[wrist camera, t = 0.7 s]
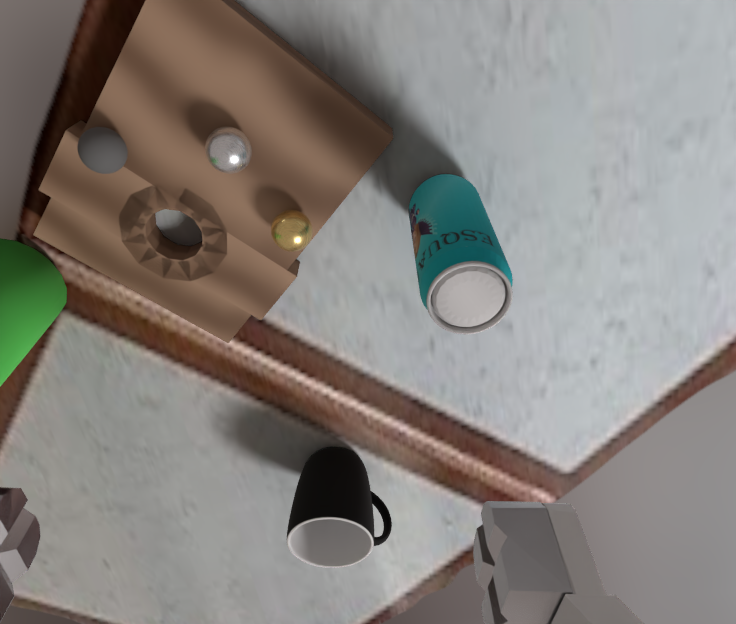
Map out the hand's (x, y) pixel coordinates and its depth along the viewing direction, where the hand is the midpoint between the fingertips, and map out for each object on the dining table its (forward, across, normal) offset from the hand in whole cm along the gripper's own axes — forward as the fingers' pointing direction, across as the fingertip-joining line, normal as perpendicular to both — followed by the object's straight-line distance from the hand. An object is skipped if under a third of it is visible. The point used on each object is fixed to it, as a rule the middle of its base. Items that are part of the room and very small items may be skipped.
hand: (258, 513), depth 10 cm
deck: (+36, +10, +8) cm, 39 cm away
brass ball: (+32, +3, +10) cm, 34 cm away
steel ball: (+32, +8, +4) cm, 33 cm away
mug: (+37, -2, +43) cm, 57 cm away
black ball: (+32, +16, +5) cm, 37 cm away
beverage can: (+36, -9, +9) cm, 39 cm away
